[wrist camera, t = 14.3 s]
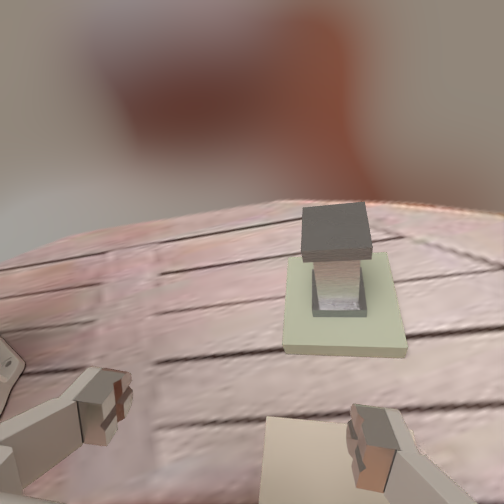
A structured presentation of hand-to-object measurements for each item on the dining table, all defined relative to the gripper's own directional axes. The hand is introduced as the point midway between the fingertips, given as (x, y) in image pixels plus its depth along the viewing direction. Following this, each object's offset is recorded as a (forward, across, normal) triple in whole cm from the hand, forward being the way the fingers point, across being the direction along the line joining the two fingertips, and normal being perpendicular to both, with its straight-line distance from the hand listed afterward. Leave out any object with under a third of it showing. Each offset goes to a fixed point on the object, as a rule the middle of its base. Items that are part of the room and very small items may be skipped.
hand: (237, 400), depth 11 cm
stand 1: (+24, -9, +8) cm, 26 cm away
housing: (+22, -8, +6) cm, 24 cm away
